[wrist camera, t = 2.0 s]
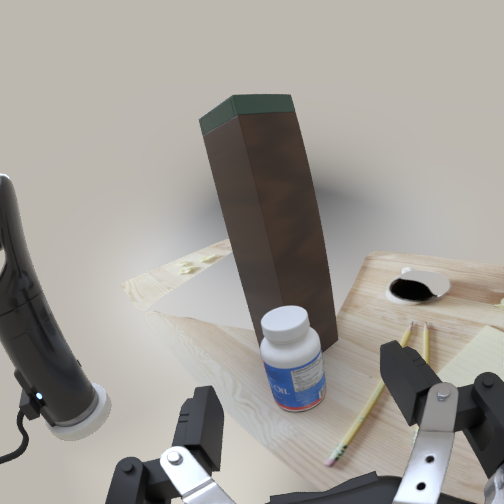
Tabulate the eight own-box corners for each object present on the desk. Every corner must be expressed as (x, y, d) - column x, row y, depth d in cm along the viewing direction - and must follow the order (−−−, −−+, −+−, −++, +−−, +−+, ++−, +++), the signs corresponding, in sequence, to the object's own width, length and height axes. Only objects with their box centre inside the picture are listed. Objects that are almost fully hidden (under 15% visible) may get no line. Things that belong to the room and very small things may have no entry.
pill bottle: (266, 391, 27) (243, 316, 25) (309, 370, 29) (294, 295, 26) (289, 422, 22) (268, 343, 20) (337, 396, 24) (328, 315, 21)
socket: (237, 114, 22) (232, 94, 22) (202, 136, 28) (198, 119, 28) (295, 111, 26) (290, 94, 25) (255, 128, 32) (251, 113, 31)
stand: (298, 371, 29) (237, 114, 22) (260, 350, 35) (202, 136, 28) (338, 339, 33) (295, 111, 26) (299, 324, 39) (255, 128, 32)
